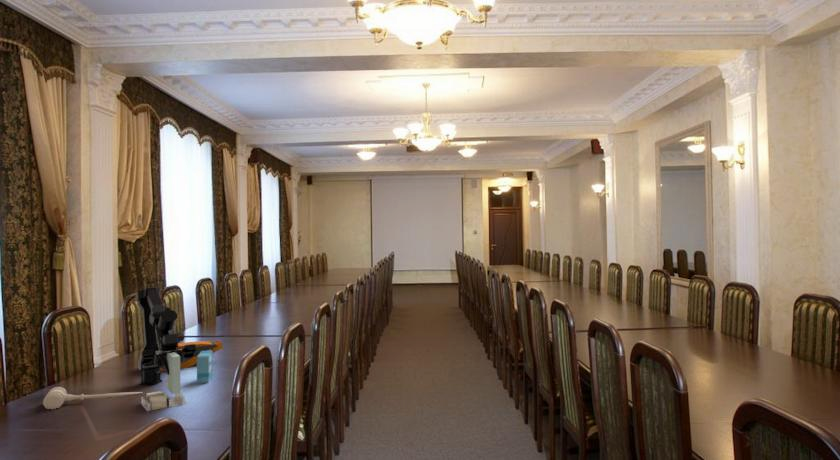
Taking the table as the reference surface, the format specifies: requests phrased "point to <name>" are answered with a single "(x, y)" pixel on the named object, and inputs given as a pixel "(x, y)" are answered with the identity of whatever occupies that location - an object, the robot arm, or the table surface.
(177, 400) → the rack
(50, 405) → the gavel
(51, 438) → the table surface
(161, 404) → the offcut lower
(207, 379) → the data package
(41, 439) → the table surface
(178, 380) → the pale green slab
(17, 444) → the table surface
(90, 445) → the table surface
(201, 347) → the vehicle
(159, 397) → the offcut upper
